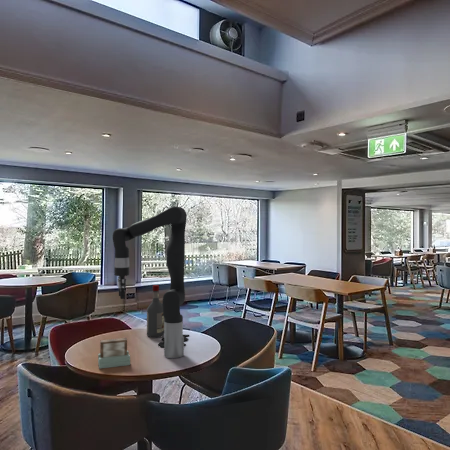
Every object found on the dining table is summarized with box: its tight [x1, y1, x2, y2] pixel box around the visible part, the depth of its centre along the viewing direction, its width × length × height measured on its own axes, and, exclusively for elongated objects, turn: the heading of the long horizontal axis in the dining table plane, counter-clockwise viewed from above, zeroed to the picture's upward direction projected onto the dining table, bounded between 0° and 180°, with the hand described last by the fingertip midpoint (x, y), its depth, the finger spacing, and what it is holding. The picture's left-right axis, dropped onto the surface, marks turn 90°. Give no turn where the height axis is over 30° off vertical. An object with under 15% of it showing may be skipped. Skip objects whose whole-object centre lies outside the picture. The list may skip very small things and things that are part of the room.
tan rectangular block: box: [99, 337, 128, 358], centre depth 181 cm, size 12×4×9 cm, turn 111°
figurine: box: [157, 334, 190, 349], centre depth 214 cm, size 16×1×30 cm
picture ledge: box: [97, 350, 131, 370], centre depth 181 cm, size 14×10×4 cm
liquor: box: [146, 284, 164, 339], centre depth 228 cm, size 9×9×30 cm
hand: (121, 297), depth 199 cm, fingers open, 8 cm apart
